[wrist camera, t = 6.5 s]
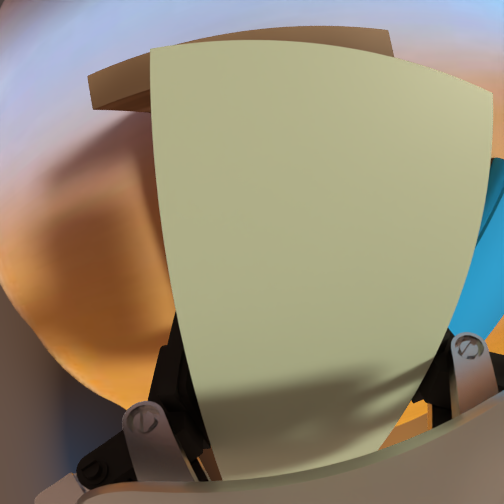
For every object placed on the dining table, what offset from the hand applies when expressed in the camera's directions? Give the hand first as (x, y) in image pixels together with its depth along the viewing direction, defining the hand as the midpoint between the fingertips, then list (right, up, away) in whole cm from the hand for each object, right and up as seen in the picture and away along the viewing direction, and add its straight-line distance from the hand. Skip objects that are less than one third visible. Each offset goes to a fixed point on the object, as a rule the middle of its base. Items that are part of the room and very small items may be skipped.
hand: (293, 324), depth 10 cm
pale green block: (0, 0, +1) cm, 1 cm away
